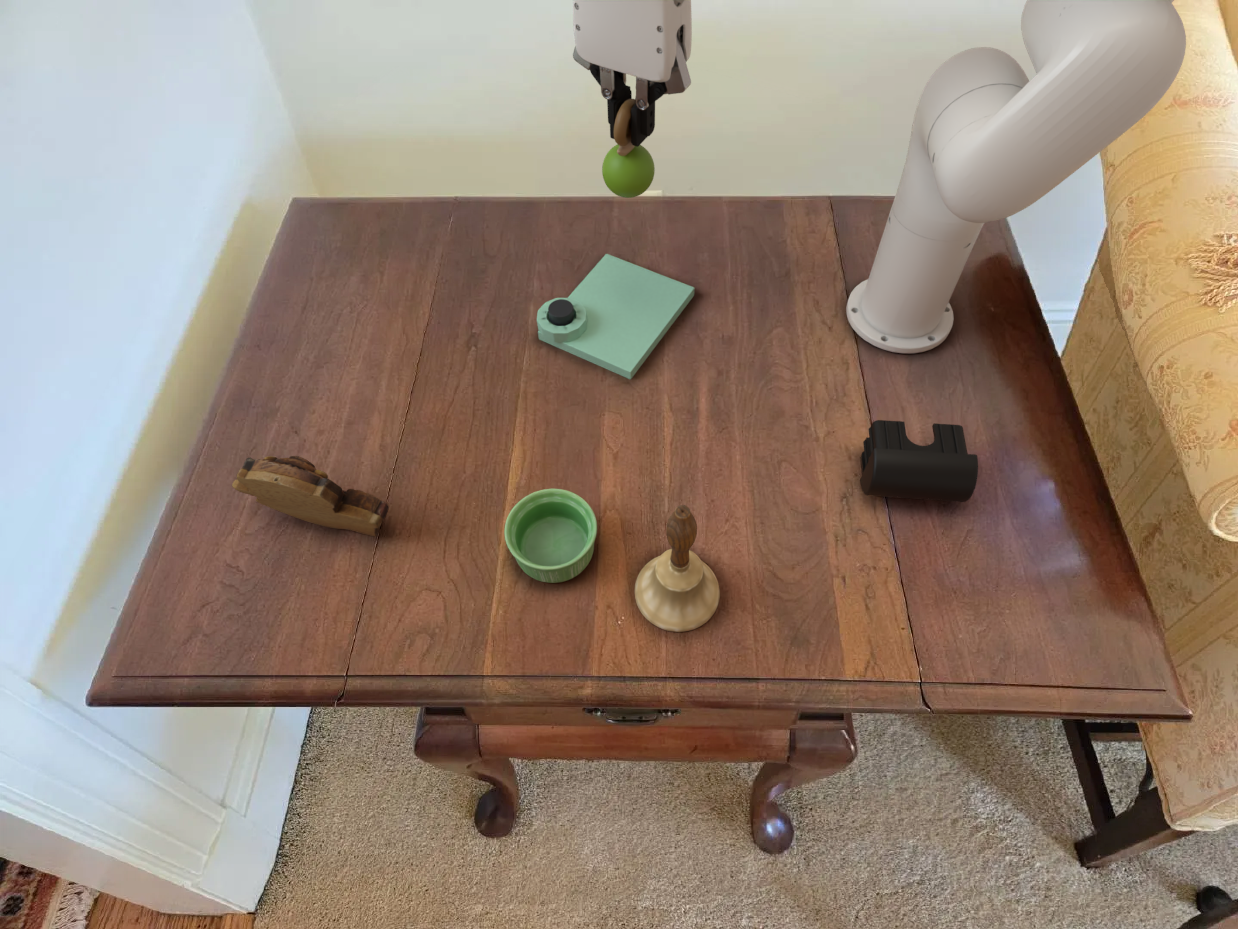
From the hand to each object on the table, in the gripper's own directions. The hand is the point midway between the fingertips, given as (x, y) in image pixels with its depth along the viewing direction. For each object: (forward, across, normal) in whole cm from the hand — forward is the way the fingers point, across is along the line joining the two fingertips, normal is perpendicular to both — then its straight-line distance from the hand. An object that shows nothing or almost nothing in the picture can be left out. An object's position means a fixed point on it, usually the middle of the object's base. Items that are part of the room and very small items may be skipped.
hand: (631, 134), depth 77 cm
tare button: (+21, +5, +8) cm, 23 cm away
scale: (+24, +1, +2) cm, 24 cm away
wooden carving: (+24, +13, +42) cm, 50 cm away
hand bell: (+24, -23, +31) cm, 46 cm away
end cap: (+24, -38, +8) cm, 46 cm away
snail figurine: (+7, 0, 0) cm, 7 cm away
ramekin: (+24, -10, +33) cm, 42 cm away
